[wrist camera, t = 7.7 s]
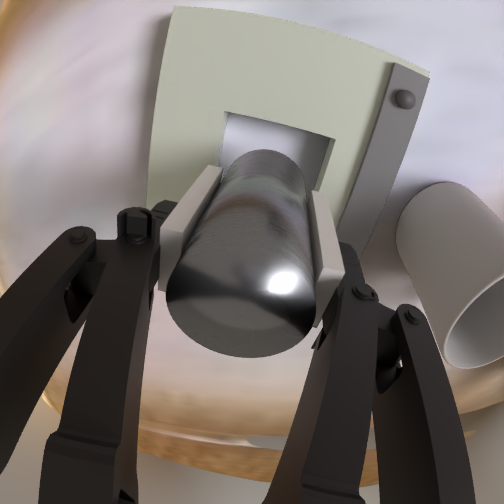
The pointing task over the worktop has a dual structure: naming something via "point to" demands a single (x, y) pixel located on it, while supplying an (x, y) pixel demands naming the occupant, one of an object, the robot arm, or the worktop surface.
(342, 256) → the robot arm
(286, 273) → the grey metal cylinder
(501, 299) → the mug
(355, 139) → the plate
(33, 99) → the worktop surface
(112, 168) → the worktop surface
